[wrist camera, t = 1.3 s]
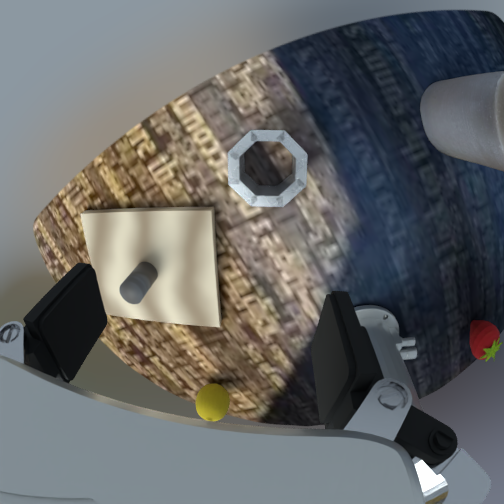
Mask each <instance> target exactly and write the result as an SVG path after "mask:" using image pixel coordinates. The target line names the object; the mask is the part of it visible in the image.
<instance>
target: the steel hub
mask: <svg viewBox="0 0 504 504" xmlns="http://www.w3.org/2000/svg"><path fill="white" fill-rule="evenodd" d="M256 141H280V142H281V143H282V144H283V145H284V146H285V147H286V148H287V149H288V150H289V151H290V153H291V154H292V173H291V174H290V175H289V176H288V177H287V178H285V179H284V180H283V181H282V182H281V183H280V184H279V185H278V186H275V185H258V184H257V183H256V182H255V181H254V180H253V179H252V178H251V177H250V176H249V175H248V174H247V173H246V172H245V152H246V151H247V150H248V149H249V148H250V147H251V146H252V145H253V144H254V143H255V142H256ZM306 180H307V153H306V152H305V151H304V150H303V149H302V148H301V147H300V146H299V145H298V144H297V143H296V142H295V141H294V140H293V139H292V138H291V137H290V136H289V135H288V134H287V133H286V132H285V130H250V131H249V132H248V133H247V134H246V135H245V136H244V137H243V138H242V139H241V140H240V141H239V142H238V143H237V144H236V145H235V146H234V147H233V148H232V149H231V150H230V151H229V152H228V184H229V185H230V186H231V187H232V188H233V189H234V190H235V191H236V192H237V193H238V194H239V195H240V196H241V197H242V198H243V199H244V200H245V201H246V202H247V203H248V204H249V205H250V206H267V207H283V206H284V205H286V204H287V203H288V202H289V201H290V200H291V199H292V198H293V197H294V196H296V195H297V194H298V193H299V192H300V191H301V190H302V189H303V188H304V187H306Z"/></svg>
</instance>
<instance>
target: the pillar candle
mask: <svg viewBox="0 0 504 504" xmlns="http://www.w3.org/2000/svg"><path fill="white" fill-rule="evenodd" d="M420 112H421V117H422V122H423V126H424V130H425V133H426V135H427V137H428V139H429V140H430V142H431V143H432V144H433V145H434V146H435V147H436V149H438V150H439V151H440V152H442V153H444V154H446V155H448V156H452V157H454V158H458V159H462V160H466V161H470V162H473V163H477V164H481V165H484V166H488V167H491V168H494V169H498V170H501V171H504V71H500V72H491V73H484V74H477V75H470V76H464V77H458V78H453V79H448V80H442V81H438V82H435V83H433V84H431V85H430V86H429V87H428V88H427V89H426V90H425V92H424V93H423V96H422V99H421V103H420Z"/></svg>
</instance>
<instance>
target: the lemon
mask: <svg viewBox="0 0 504 504" xmlns="http://www.w3.org/2000/svg"><path fill="white" fill-rule="evenodd" d="M229 404H230V399H229V394H228V392H227V390H226V389H225V388H224V387H222V386H221V385H218V384H207V385H205V386H204V387H202V388H201V389H200V391H199V392H198V395H197V398H196V410H197V412H198V414H199V415H200V416H201V417H202V418H203V419H205V420H207V421H217V420H220V419H222V418H223V417H224V416H225V414H226V413H227V411H228V408H229Z"/></svg>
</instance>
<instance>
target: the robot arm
mask: <svg viewBox="0 0 504 504" xmlns="http://www.w3.org/2000/svg"><path fill="white" fill-rule="evenodd" d="M24 322H25V324H26V326H25V327H23V325H22V324H21V323H20V322H17V321H13V322H9V323H6V324H5V325H3V326H2V327H1V328H0V504H481V503H482V502H483V501H484V499H485V498H486V496H487V495H488V493H489V490H490V487H491V481H490V478H489V476H488V475H487V473H485V471H484V470H483V469H482V468H481V467H480V466H479V465H478V464H477V463H476V462H475V461H474V460H473V459H472V458H471V456H469V454H468V453H467V452H466V451H465V450H464V449H463V448H462V449H460V450H459V449H458V448H457V437H456V434H455V433H454V431H453V430H452V429H451V428H450V427H448V426H447V425H445V424H443V423H442V422H440V421H438V420H436V419H434V418H433V417H431V416H429V415H428V414H426V413H424V412H423V409H422V406H421V404H420V401H419V398H418V396H417V393H416V390H415V388H414V385H413V383H412V380H411V378H410V375H409V373H408V370H407V368H406V366H405V363H404V361H403V359H404V360H407V359H414V358H416V356H417V349H416V347H406V348H403V349H401V348H402V346H414V345H415V338H414V337H407V338H402V337H400V336H399V325H398V322H397V320H396V318H395V316H394V315H393V314H392V313H391V312H390V311H389V310H387V309H386V308H383V307H380V306H375V305H364V306H358V307H353V304H352V301H351V299H350V296H349V294H348V292H344V291H332V293H331V294H327V295H326V298H325V302H324V305H323V309H322V312H321V316H320V319H319V323H318V326H317V329H316V333H315V336H314V339H313V343H312V347H311V355H312V362H313V370H314V377H315V385H316V393H317V401H318V409H319V418H320V422H321V423H325V429H306V428H274V427H259V426H248V425H237V424H228V423H220V422H213V421H206V420H200V419H193V418H187V417H183V416H178V415H173V414H168V413H163V412H159V411H155V410H150V409H146V408H142V407H139V406H135V405H131V404H127V403H124V402H120V401H117V400H114V399H111V398H108V397H105V396H102V395H98V394H96V393H93V392H90V391H87V390H84V389H81V388H79V387H76V386H74V385H71V384H69V382H70V381H71V380H73V379H74V377H75V375H76V374H77V372H78V370H79V369H80V367H81V365H82V364H83V362H84V360H85V359H86V357H87V355H88V354H89V352H90V351H91V349H92V347H93V346H94V344H95V342H96V341H97V339H98V338H99V336H100V335H101V333H102V331H103V330H104V328H105V327H106V325H107V315H106V312H105V308H104V305H103V301H102V297H101V293H100V289H99V285H98V280H97V276H96V272H95V269H94V268H93V267H92V266H91V265H90V264H85V263H78V264H76V265H75V266H74V267H73V268H72V269H71V270H70V271H69V272H68V273H67V274H66V275H65V276H64V277H63V278H62V279H61V280H60V281H59V282H58V283H57V284H56V285H55V286H54V287H53V288H52V289H51V290H50V291H49V292H48V293H47V294H46V295H45V296H44V297H43V298H42V299H41V300H40V301H39V302H38V303H37V304H36V305H35V306H34V307H33V309H32V310H31V311H30V312H29V313H28V314H27V315H26V316H25V317H24Z"/></svg>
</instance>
